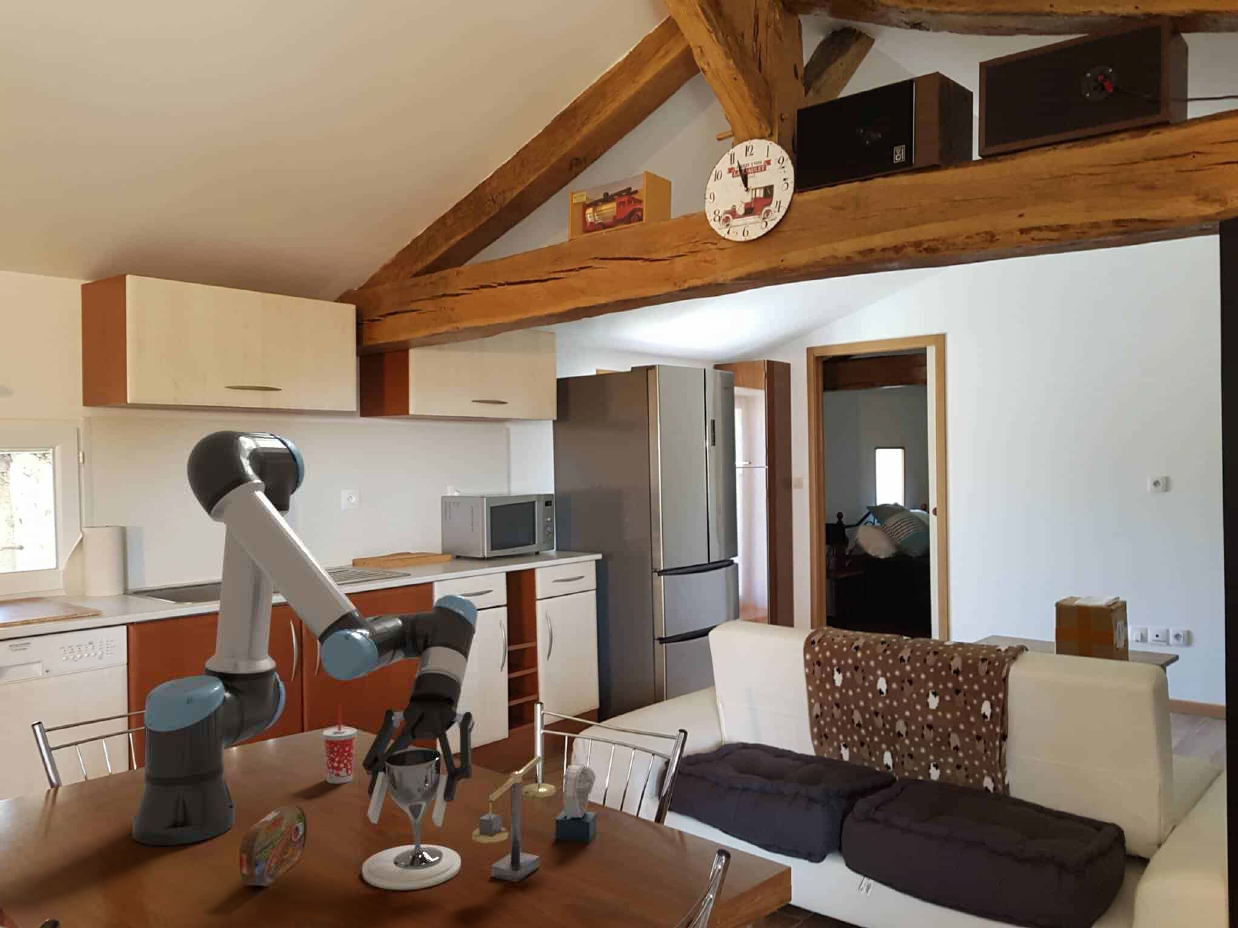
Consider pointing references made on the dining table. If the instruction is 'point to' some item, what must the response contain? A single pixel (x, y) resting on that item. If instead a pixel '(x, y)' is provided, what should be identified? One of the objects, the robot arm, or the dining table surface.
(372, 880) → the dish
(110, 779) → the dining table surface
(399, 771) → the wine glass
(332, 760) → the beverage cup
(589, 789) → the watch
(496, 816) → the balance
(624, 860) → the dining table surface
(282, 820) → the tin
